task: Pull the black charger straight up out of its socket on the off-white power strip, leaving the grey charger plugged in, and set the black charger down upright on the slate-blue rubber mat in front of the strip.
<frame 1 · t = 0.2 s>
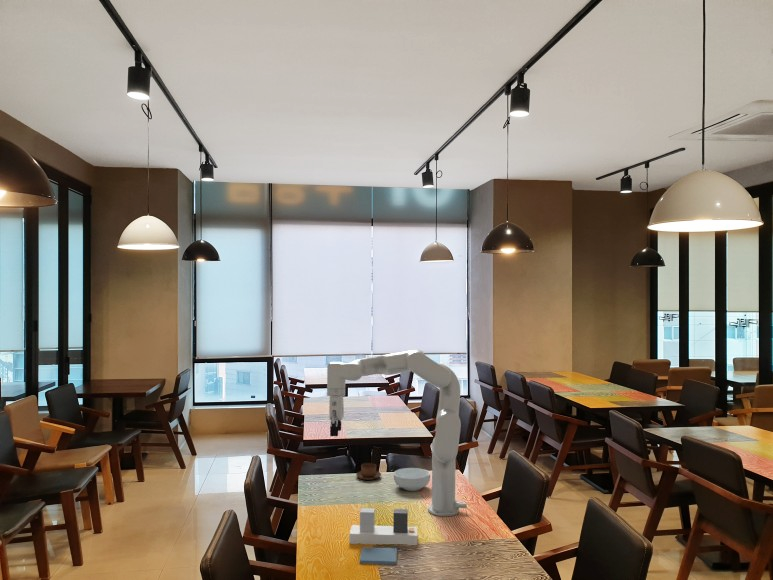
hand: (335, 433, 241), 31 cm above the table, tool pointing down, fingers open, 9 cm apart
power strip: (383, 539, 210), on the table
black charger: (400, 534, 210), point 2 cm above the table, touching power strip
mat: (378, 557, 196), on the table
cup and saucer: (368, 478, 283), on the table
cereal bowl: (411, 488, 268), on the table
grey charger: (367, 533, 210), point 2 cm above the table, touching power strip
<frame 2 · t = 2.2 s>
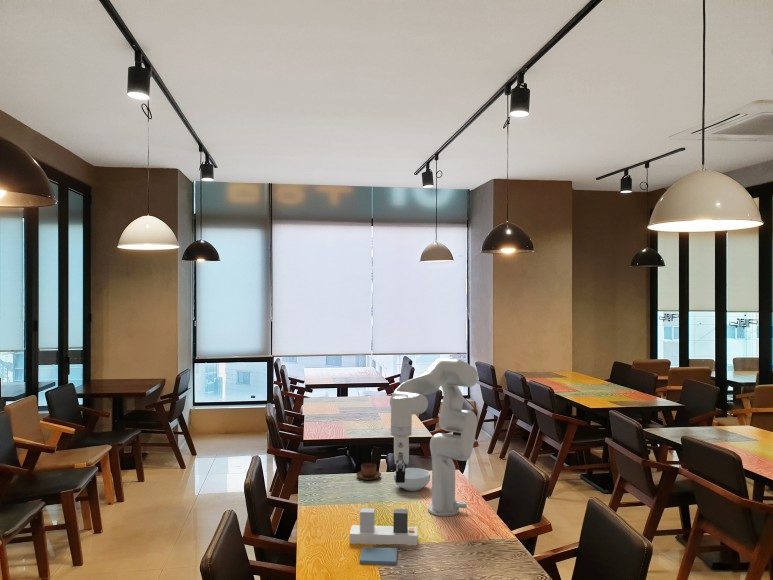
hand: (400, 478, 210), 22 cm above the table, tool pointing down, fingers open, 9 cm apart
nothing on the table moved.
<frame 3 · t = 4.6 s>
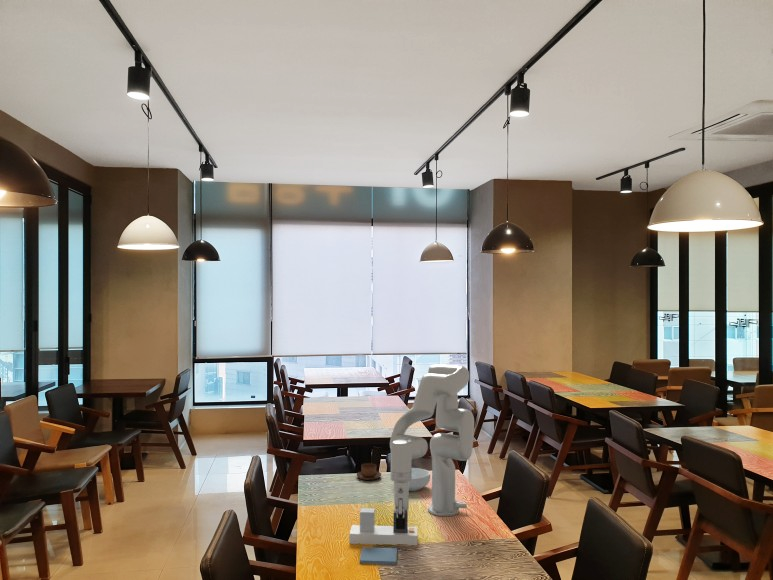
hand: (400, 525, 210), 5 cm above the table, tool pointing down, fingers closed on black charger, 4 cm apart
black charger: (400, 534, 210), point 2 cm above the table, touching gripper, power strip
everything else where it was.
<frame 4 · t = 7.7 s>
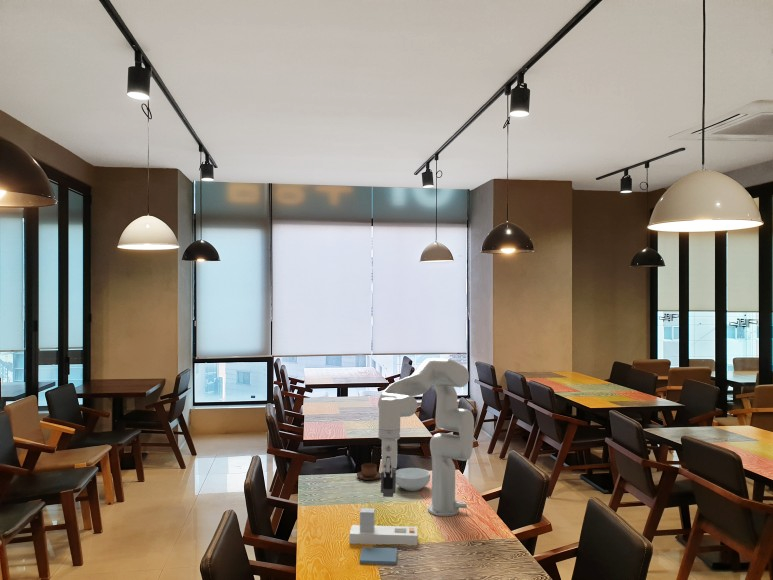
hand: (388, 486, 202), 22 cm above the table, tool pointing down, fingers closed on black charger, 4 cm apart
black charger: (388, 495, 202), point 19 cm above the table, touching gripper
everything else where it was.
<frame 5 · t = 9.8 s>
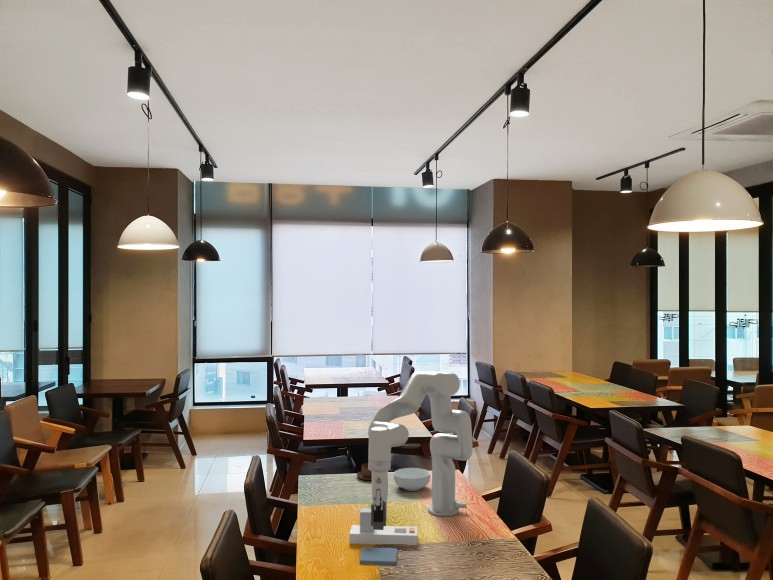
hand: (378, 518, 196), 13 cm above the table, tool pointing down, fingers closed on black charger, 4 cm apart
black charger: (378, 527, 196), point 10 cm above the table, touching gripper
everything else where it was.
when the fingers open (5 cm above the table, at t = 11.5 s): black charger drops 1 cm, resting on mat.
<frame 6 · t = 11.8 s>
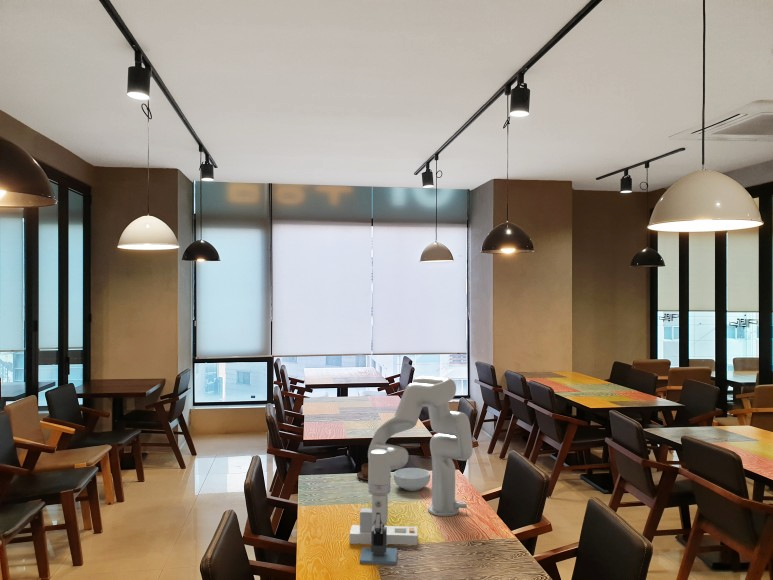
hand: (378, 540, 196), 6 cm above the table, tool pointing down, fingers open, 6 cm apart
black charger: (378, 554, 196), point 1 cm above the table, touching mat
everything else where it was.
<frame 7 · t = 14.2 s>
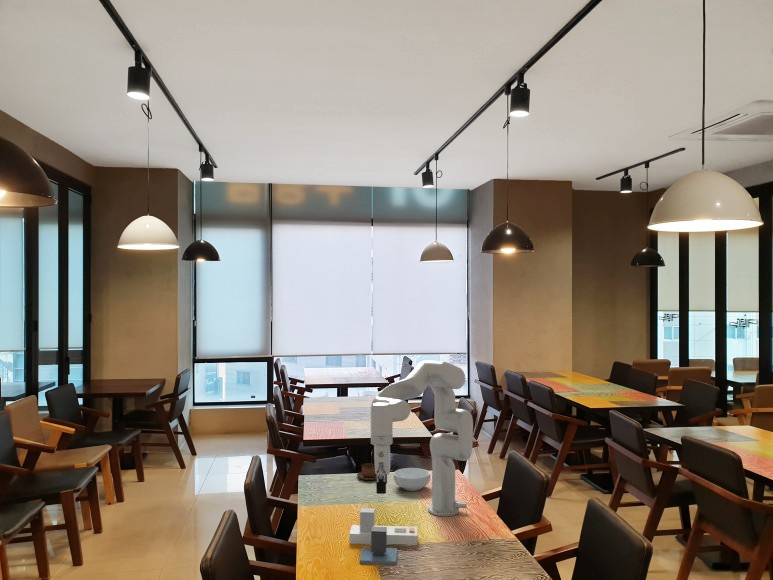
hand: (381, 488, 201), 22 cm above the table, tool pointing down, fingers open, 9 cm apart
nothing on the table moved.
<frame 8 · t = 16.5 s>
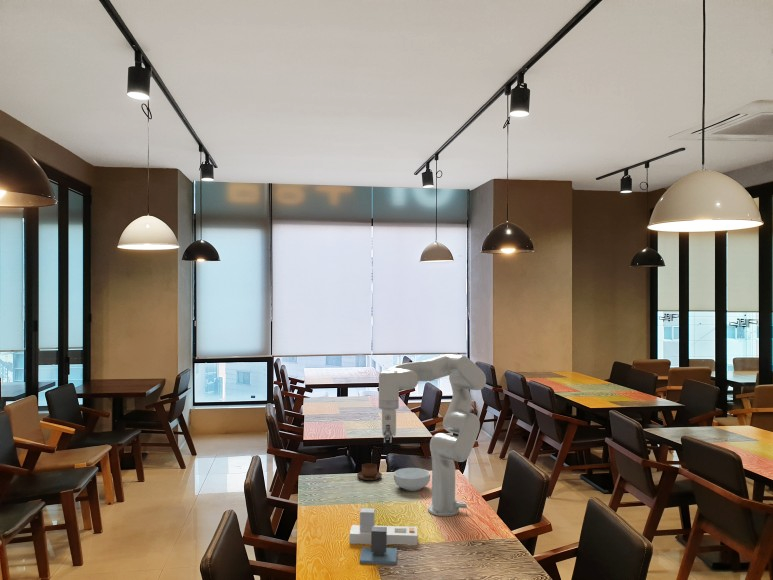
hand: (388, 449, 218), 30 cm above the table, tool pointing down, fingers open, 9 cm apart
nothing on the table moved.
at the end: black charger inside the target area on the mat (0.1 cm from its centre), point 1.0 cm above the mat's base; black charger tilted 0°; grey charger moved 0.0 cm from its start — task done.
